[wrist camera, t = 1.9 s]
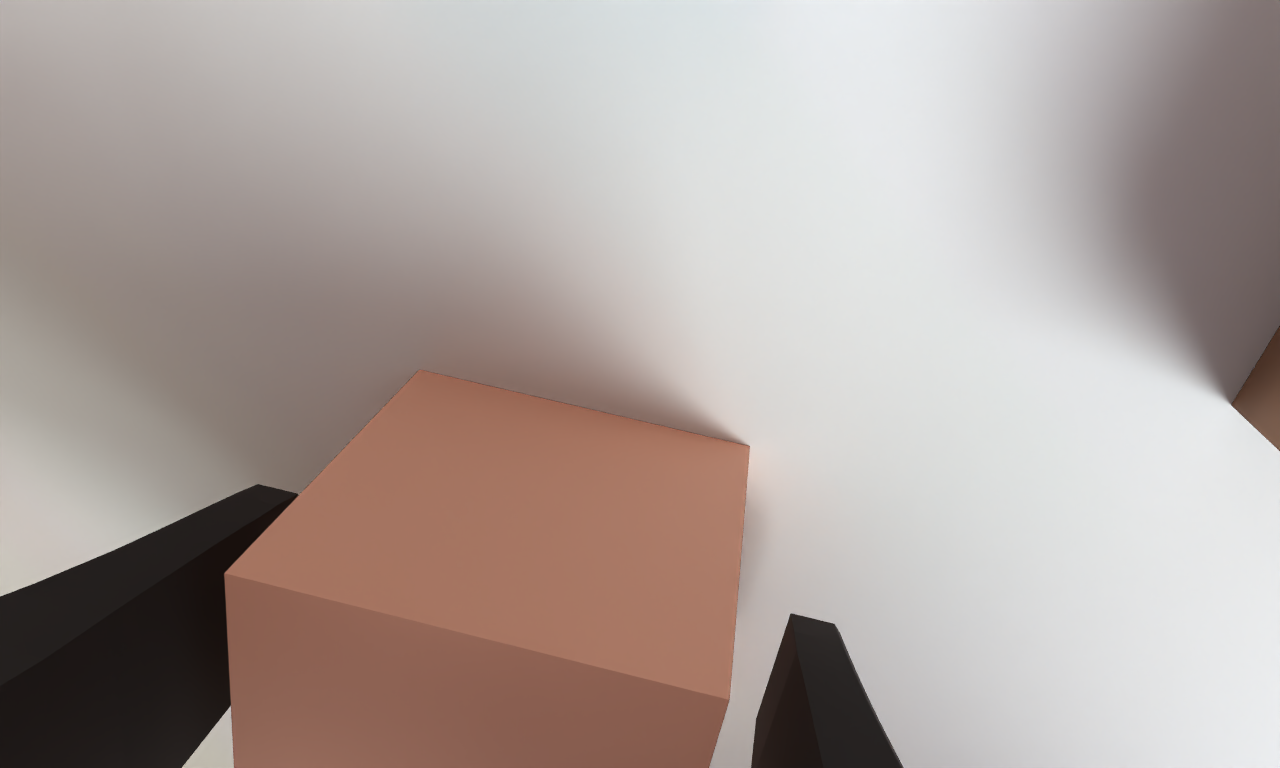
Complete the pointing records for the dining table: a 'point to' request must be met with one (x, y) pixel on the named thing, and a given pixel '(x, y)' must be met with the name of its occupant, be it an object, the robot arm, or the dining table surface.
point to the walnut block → (1263, 393)
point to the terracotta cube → (493, 593)
